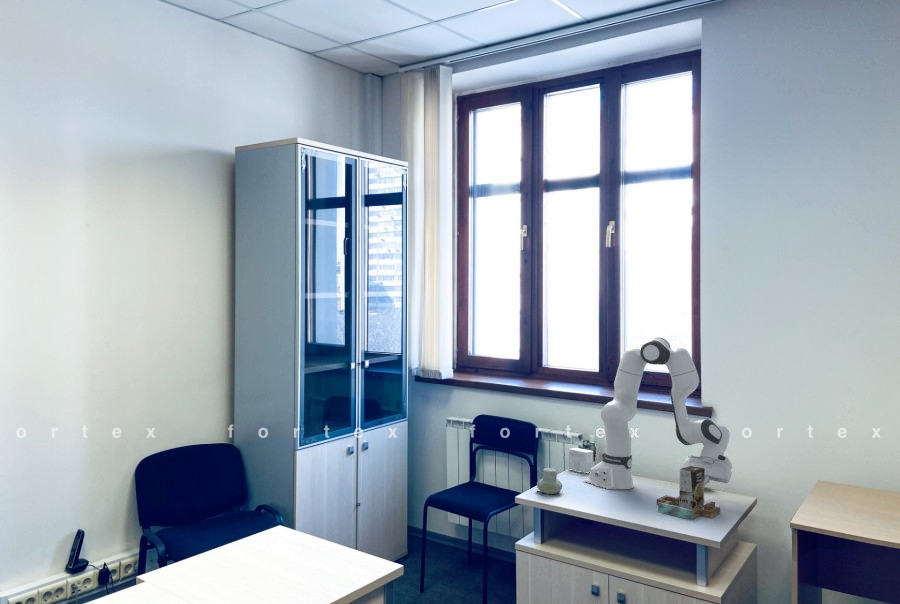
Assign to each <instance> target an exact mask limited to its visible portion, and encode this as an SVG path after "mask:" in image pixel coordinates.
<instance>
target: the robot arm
mask: <svg viewBox="0 0 900 604" xmlns="http://www.w3.org/2000/svg"><path fill="white" fill-rule="evenodd" d="M647 364H649V365H653V366H655V365H660V366H661V365H662V366H663V365H665V366H666V367H667V370H668V372H669V375H670V377H671V379H670V380H671V382H672V383H671V385H672V386H671V389H670V394H669V395H670V401H671V406H672V407H671V408H672V412H673V417H674V418H673V419H674V421H675V435H676V437H677V440H678V441H679V442H680V443H681V444H683V445H684V446H693V445H695V444H702V446H703V447H702V449H701V451H700V455H699V456H694V455H692V454H691V455H689V456H686V457H685V459H684V461H683V463H682V465H680V466H681V467H680V469H681V468H685V467H689V466H694V467H700V468H704V469H705V473H704V479H705V480H704V488H706V487H705V486H706V485H708V484H709V483H710V481H713V482H717V483H723V484H728V483H729V482H730V481H731V479H732V478H731V477H732V469H733V464H732V462H731V460H730V459H729V457H728V456H725V454H724V453H725V452H726V451H727V448H728V445H729V443H730V437H731V435H730V433H731V432H730V430H729V429H728V428H727V427H726V426H725V425H722V424H720V423H717V424H716V423H714V421H712V420H711V419H709V418H708V419H707V418H706V419H698V420H692V421H691V420H689V414H688V410H687V406H686V399H687V398H688V397H689V396H690V395H691V394H692V393H694V392H695V390H696V389H698V387H699V383H700V378H699V377H700V376H699V373H698V370H697V368H696V365H695V362H694V361H693V359H692V357H691V355H690V353H689V352H688V350H687V349H686V348H684V347H676V348H671V344H670V343H669V341H668V340H667V339H665V338H663V337H653V338H650V339H648V340H647V341H645V342H643V343H642V345H641V347H635V346H630V347H628V348H626V349H625V350H624V353H623V354H622V356H621V358H620V361H619V364H618V367H617V371H616V374H615V375H616V376H615V379H614V382H613V388H614V393H613V399H612V400H611V401H609V402H607V403H606V404H604V406H603V408H602V409H601V411H600V418H601V421H602V422H603V425H604V432H605V443H606V444H605V445H606V446H605V453H603V454H601V455H600V458H602V460H601V461H600V462H598V463H597V464H595V465H593V467H592V468H591V470H590V473H588V474H589V475H588V476H587V477H585V478H584V479H583V480H584V481H585V482H584V481H583V482H584V483H586V482H587V484H589V483H591V484H590V485H593V484H594V485H593V486H596V485H597V486H596V487H599V486H600V488H602V487H603V489H605V488H606V489H607V490H630V489H633V488H634V487H635V484H634V481H633V474H632V466H633V456H632V436H631V435H630V430H629V425H628V424H629V422H630V421H632V420H633V419H634V418H635V416H636V415H637V412H638V407H637V405H638V404H637V403H638V396H639V390H640V385H641V381H642V378H643V375H644V371H645V367H646V366H647ZM606 489H605V490H606Z"/></svg>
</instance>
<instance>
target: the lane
mask: <svg viewBox="0 0 900 604" xmlns="http://www.w3.org/2000/svg"><path fill="white" fill-rule="evenodd" d="M656 506H657V512H658V513H661V512H662V513H661V514H667V515H670V516H674V517H678V518H682V519H686V520H690V521H693V520H694V519H696V517H697V518H698V517H704V518H709V519H713V518H715V517H717V516H719V515H720V514H721V508H720V506H716V502H715V501H710V502H707V503H706V504H705V503H704V507H703V508H697V509H695V510H690V509H686V508H682V507H679V496H676V497H674V496H670V495H666V494H665V495H663V496H661V497H659V498H656Z"/></svg>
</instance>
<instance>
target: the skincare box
mask: <svg viewBox="0 0 900 604" xmlns="http://www.w3.org/2000/svg"><path fill="white" fill-rule="evenodd" d="M592 467H594V451H593V450H591V449H584V448H579V447H574V448H573V447H572V448H569V449H568V471H570V470H569V469H572V470H576V471H581V472H585V473H586V472H589V471H590V470H591V468H592ZM576 471H575V472H576Z"/></svg>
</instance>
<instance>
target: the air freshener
mask: <svg viewBox="0 0 900 604" xmlns="http://www.w3.org/2000/svg"><path fill="white" fill-rule="evenodd" d="M557 472H558V470H557V469H556V468H551V467H545V468H543V470H542V478H540V479H539V480H538V481H537V482H536V487H537V489H538V491H540V492H541V493H543V494H545V493H546V495H556V494H558V493H560V491H562V489H563V483H562V482H561V481H560V480H559V479H558V475H557Z"/></svg>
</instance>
